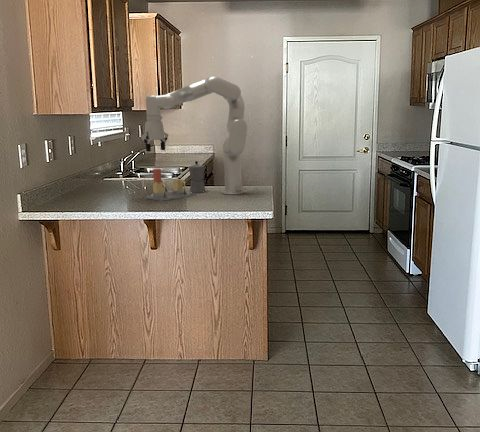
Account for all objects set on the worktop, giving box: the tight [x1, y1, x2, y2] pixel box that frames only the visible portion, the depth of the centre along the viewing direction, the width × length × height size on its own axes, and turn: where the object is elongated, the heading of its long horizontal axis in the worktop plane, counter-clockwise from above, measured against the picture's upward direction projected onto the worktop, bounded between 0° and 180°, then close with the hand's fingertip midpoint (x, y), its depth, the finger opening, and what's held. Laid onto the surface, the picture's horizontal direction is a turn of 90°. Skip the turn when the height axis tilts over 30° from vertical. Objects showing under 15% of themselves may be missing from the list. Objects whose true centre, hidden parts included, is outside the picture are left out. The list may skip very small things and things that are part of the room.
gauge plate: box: [145, 178, 197, 202], centre depth 305 cm, size 14×24×9 cm, turn 135°
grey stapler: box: [161, 177, 171, 192], centre depth 321 cm, size 17×5×10 cm, turn 20°
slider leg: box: [152, 168, 166, 196], centre depth 299 cm, size 8×4×14 cm, turn 45°
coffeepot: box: [188, 160, 206, 194], centre depth 321 cm, size 15×9×18 cm, turn 176°
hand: (155, 150), depth 297 cm, fingers open, 9 cm apart
